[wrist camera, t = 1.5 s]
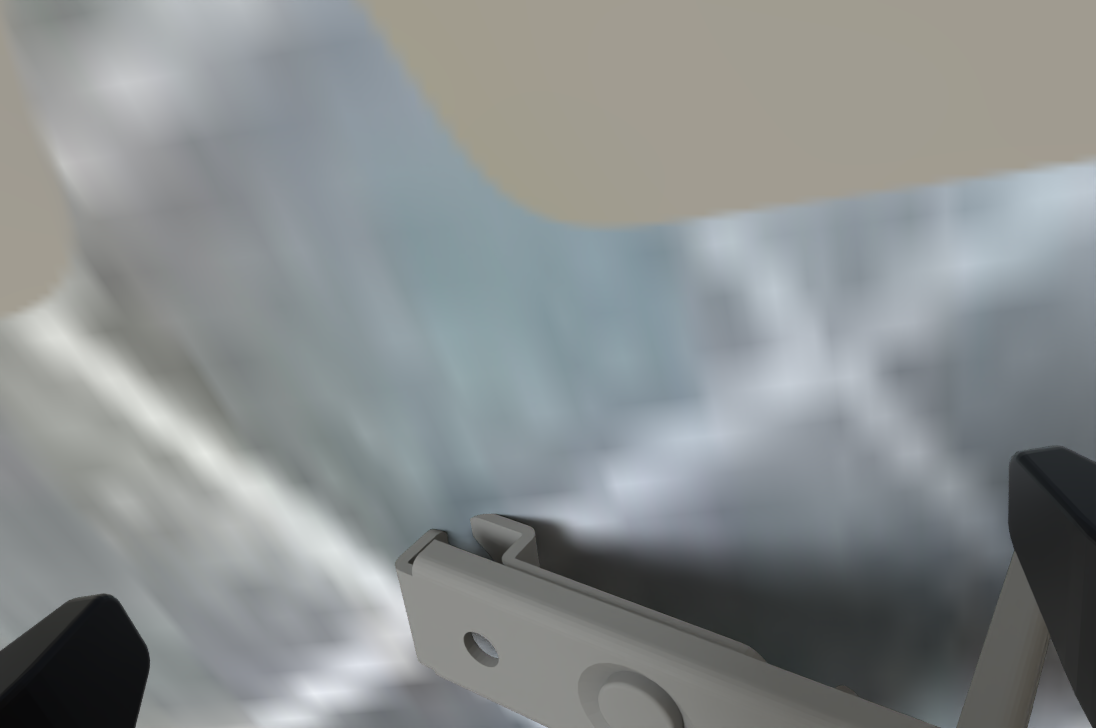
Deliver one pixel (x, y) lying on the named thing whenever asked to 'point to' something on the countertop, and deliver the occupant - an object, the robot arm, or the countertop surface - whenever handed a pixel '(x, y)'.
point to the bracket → (655, 650)
